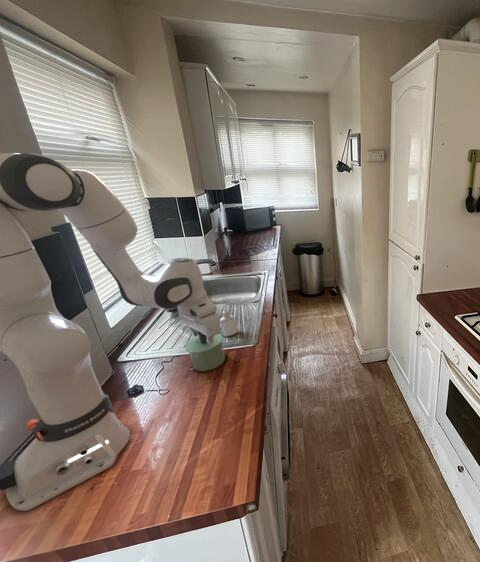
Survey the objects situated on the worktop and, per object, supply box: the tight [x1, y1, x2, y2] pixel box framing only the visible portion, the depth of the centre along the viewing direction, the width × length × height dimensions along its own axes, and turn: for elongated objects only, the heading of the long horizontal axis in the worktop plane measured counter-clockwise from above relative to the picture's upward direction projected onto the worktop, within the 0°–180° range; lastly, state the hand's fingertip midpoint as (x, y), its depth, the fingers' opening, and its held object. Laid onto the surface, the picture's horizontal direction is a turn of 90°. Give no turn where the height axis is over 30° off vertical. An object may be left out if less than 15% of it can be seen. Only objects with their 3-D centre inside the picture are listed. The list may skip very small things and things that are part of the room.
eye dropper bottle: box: [219, 307, 238, 337], centre depth 128 cm, size 4×6×12 cm
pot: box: [188, 342, 226, 372], centre depth 110 cm, size 10×10×8 cm
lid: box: [184, 332, 224, 353], centre depth 108 cm, size 12×12×5 cm
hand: (203, 339), depth 108 cm, fingers open, 8 cm apart
